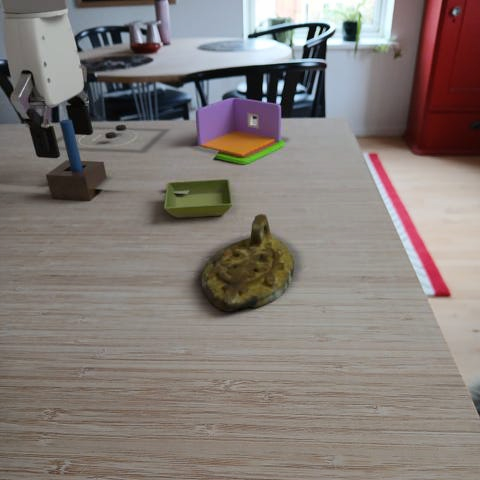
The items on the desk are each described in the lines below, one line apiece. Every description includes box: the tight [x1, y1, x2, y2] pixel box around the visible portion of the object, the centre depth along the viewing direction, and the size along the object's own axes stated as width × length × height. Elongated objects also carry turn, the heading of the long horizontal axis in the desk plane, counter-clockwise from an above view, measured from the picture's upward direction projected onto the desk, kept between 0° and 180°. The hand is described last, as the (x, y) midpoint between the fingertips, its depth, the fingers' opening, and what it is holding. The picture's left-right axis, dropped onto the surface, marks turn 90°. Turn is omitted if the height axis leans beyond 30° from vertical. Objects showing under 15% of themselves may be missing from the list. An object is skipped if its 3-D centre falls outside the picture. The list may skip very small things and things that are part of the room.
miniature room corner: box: [195, 97, 286, 165], centre depth 86 cm, size 12×12×7 cm
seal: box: [201, 213, 295, 312], centre depth 53 cm, size 9×5×15 cm
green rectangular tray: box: [163, 178, 234, 219], centre depth 68 cm, size 9×9×2 cm
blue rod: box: [59, 118, 83, 172], centre depth 72 cm, size 2×2×10 cm
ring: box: [77, 128, 138, 149], centre depth 92 cm, size 18×12×1 cm, turn 77°
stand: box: [45, 159, 108, 202], centre depth 74 cm, size 6×6×4 cm
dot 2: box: [115, 124, 127, 132], centre depth 92 cm, size 2×2×1 cm
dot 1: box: [104, 131, 117, 140], centre depth 89 cm, size 2×2×1 cm
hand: (66, 145), depth 71 cm, fingers open, 9 cm apart
